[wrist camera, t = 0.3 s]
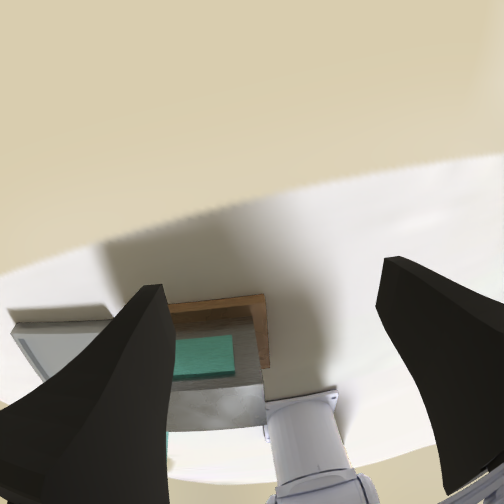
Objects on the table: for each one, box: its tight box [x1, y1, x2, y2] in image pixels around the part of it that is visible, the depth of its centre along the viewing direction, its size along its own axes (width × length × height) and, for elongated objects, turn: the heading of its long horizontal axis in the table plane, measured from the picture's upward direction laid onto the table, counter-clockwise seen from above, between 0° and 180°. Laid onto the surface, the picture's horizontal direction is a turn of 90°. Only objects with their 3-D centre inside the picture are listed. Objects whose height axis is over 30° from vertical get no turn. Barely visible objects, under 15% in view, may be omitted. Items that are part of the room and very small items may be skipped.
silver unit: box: [166, 294, 270, 432], centre depth 20 cm, size 7×10×7 cm
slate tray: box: [10, 320, 112, 382], centre depth 23 cm, size 11×11×2 cm
